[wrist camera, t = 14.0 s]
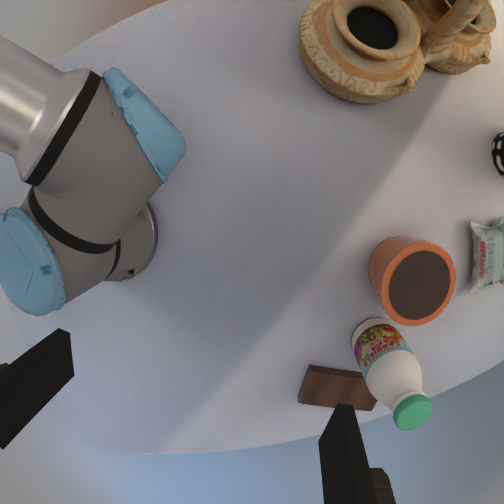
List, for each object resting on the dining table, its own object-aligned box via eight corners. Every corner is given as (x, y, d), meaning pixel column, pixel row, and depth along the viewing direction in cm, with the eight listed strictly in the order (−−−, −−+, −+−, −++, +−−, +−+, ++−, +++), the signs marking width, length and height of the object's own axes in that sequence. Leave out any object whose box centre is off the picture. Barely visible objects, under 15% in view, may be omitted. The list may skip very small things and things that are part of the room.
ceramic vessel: (342, 133, 40) (413, 77, 15) (275, 34, 37) (266, -80, 13) (488, 66, 33) (577, 26, 9) (431, -14, 31) (488, -84, 7)
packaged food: (462, 288, 43) (477, 298, 38) (463, 219, 40) (480, 223, 35) (497, 280, 42) (512, 288, 37) (499, 214, 39) (516, 218, 35)
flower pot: (354, 295, 45) (369, 320, 36) (374, 223, 42) (396, 232, 33) (415, 307, 44) (439, 331, 35) (436, 240, 42) (466, 253, 33)
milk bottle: (403, 333, 45) (455, 406, 26) (370, 364, 47) (405, 447, 27) (374, 306, 45) (424, 379, 25) (340, 341, 46) (369, 426, 27)
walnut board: (297, 396, 49) (298, 403, 47) (309, 364, 48) (310, 371, 46) (369, 404, 49) (371, 411, 47) (383, 375, 47) (387, 381, 45)
